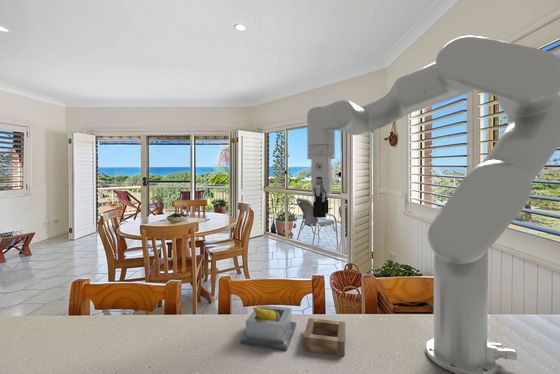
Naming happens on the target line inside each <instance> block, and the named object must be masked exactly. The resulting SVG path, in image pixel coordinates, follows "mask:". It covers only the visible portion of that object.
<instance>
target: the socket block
mask: <svg viewBox="0 0 560 374" xmlns="http://www.w3.org/2000/svg"><path fill="white" fill-rule="evenodd" d="M302 350H303V351H305V352H306V351H307V352H313V353H314V352H315V353H321V354H329V355H335V356H342V357H345V354H346V352H345V351H346V321H342V320H341V321H338V320H332V319H331V320H330V319H329V320H328V319H322V318H321V319H320V318H311V317H309V318H308V320H307V323H306V326H305V330H304V332H303V337H302Z"/></svg>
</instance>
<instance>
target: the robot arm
mask: <svg viewBox="0 0 560 374" xmlns="http://www.w3.org/2000/svg"><path fill="white" fill-rule="evenodd" d="M473 91H477V92H480V93H483V94H487V95H489V96H493V97H496V98H497V103H498V104H499V105H498V106H499V107H500V108H501V109H502V111H503V112H504V113H505V114H506V116H507V119H508V123H507V127H506V129H505V130H504V131H503V133H502V134H501V135H500V137H499V138H498V140H497V141H496V143H495V144H494V145H493V147H492V149H491V150H490V151H489V153H488V154H487V155H486V156H485V158H484V159H483V160H482V162H481V163H480V164H478V165H476V166H475V167H473V168H472V169H471V170H470V171H469V172H468V173H467V174H466V175H465V177H464V178H463V180H461V181H460V183H459V184H458V186H457V188H455V190H454V192H453V193H452V194H451V195H450V197H449V198H448V200H447V201H446V203H445V204H444V206H442V208H441V210H440V211H439V212H438V214H437V215H436V217H435V218H434V219H433V221H432V222H431V224H430V225H429V227H428V232H427V240H428V243H429V244H428V245H429V247H430V248H431V250H432V252H433V253H434V257H433V259H434V260H433V261H434V262H433V338H431V339H429V340H428V341H427V342H426V344H425V353H426V354H427V356H428V358H429V359H430V360H431V361H432V362H433V363H435V364H436V365H438V366H439V367H441V368H442V369H444V370H446V371H448V372H451V373H454V374H497V373H498V363H497V361H498V360H499V359H504V360H509V361H510V360H511V361H517V360H518V356H517V352H516V350H515V349H513V348H506V347H504V348H503V345H502V344H501V343H500V342H491V341H490V342H489V340H488V335H489V333H488V329H489V328H488V326H489V322H488V317H489V315H488V314H489V313H488V310H489V309H488V308H489V307H488V306H489V305H488V301H489V300H488V299H489V297H488V293H489V250H490V249H491V247H492V246H493V245H494V244H495V243H496V241H498V239H499V238H500V237H501V235H503V234H504V232H505V231H506V230H507V229H508V227H509V226H510V225H511V224H512V222H514V220H515V219H516V218H517V217H518V215H519V214H520V213H521V212H522V210H523V209H524V208H525V207H526V205H527V203H528V201H530V197H531V196H532V195H531V194H532V189H533V188H532V186H533V185H532V183H533V181H534V180H535V179H536V178H537V177H538V175H539V174H540V173H541V171H542V170H543V169H544V168H545V166H546V165H547V163H548V162H549V161H550V159H552V157H553V156H554V154H555V153H556V151H557V150H558V149H559V147H560V94H559V93H560V56H558V55H557V54H555V53H553V52H550V51H548V50H544V49H540V48H536V47H532V46H526V45H523V44H518V43H512V42H508V41H503V40H498V39H493V38H490V37H483V36H476V35H475V36H474V35H465V36H460V37H457V38H455V39H452V40H450V41H448V42H447V43H446V44H445V45H444V46H442V47H441V49H440V50H439V51H438V53H437V55H436V58H435V61H434V62H433V63H431V64H428V65H427V66H424V67H422V68H419V69H416V70H415V71H412V72H409V73H406V74H404V75H402V76H400V77H398V78H397V79H396V80H395V81H394V82H393V85H392V86H391V88H390V89H389V91H388V92H387V93H386V94H385V95H384V96H383V97H381V98H380V99H378V100H375V101H373V102H371V103H369V104H366V105H363V106H361V107H360V105H358V104H356V103H354V102H352V101H350V100H347V99H341V100H337V101H335V102H332V103H330V104H327V105H323V106H321V105H320V106H314V107H312V108H310V109H309V110H308V111H307V114H306V117H307V118H306V121H307V122H306V129H307V130H306V136H307V139H306V140H307V142H306V143H307V147H306V149H307V150H306V151H307V152H306V153H307V155H306V156H307V160H311V161H310V162H311V164H310V166H311V168H310V169H311V170H310V171H311V172H310V174H311V175H310V176H311V177H310V178H311V179H310V180H311V181H310V182H311V193H312V194H313V201H312V217H313V218H323V219H325V218H326V215H327V214H329V197H328V196H329V195H331V194H332V193H333V169H332V168H333V167H332V166H333V165H332V160H333V159H336V146H335V145H336V139H335V137H336V136H335V135H336V131H339V132H342V133H346V134H347V135H351V136H359V135H363V134H366V133H370V132H373V131H377V130H379V129H381V128H382V129H383V128H384V127H387V126H389V125H391V124H393V123H395V122H397V121H399V120H401V119H403V118H404V117H406V116H407V115H410V114H412V113H414V112H417V111H420V110H423V109H426V108H429V107H432V106H435V105H437V104H441V103H443V102H447V101H450V100H452V99H455V98H459V97H462V96H464V95H467V94H469V93H472V92H473Z"/></svg>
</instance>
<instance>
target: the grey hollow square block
mask: <svg viewBox="0 0 560 374" xmlns="http://www.w3.org/2000/svg"><path fill="white" fill-rule="evenodd" d="M256 308H261V309H267V310H270V309H274V310H276V311H277V312H278V313H279V315H280V320H279V322H278V321H270V320H261V319H258V317H257V315H256V313H255V311H254V310H252V312H251V314H250V315H249V316H248V318H247V319H246V320H245V332H244V334H243V335H242V336H241V338H240V340H239V342H240V344H241V345H244V346H245V345H246V346H252V347H260V348H267V349H273V350H274V349H275V350H281V351H288V348H289V346H290V343H291V341H292V337H293V335H294V333H295V330H296V327H297V322H295V321H292V308H291V307H283V306H282V307H281V306H274V305H273V306H270V305H263V304H258V305H257V306H256Z"/></svg>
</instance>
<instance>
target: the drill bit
mask: <svg viewBox="0 0 560 374" xmlns="http://www.w3.org/2000/svg"><path fill="white" fill-rule="evenodd" d="M256 307H257V306H256ZM256 307H254V306H253V307H252V308H253V311H255V313H256V315H257V317H258V319H261V320H270V321H278V322H279V320H280V315H279V313H278V312H277V311H276V310H274V309H270V310H267V309H261V308H256Z"/></svg>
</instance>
